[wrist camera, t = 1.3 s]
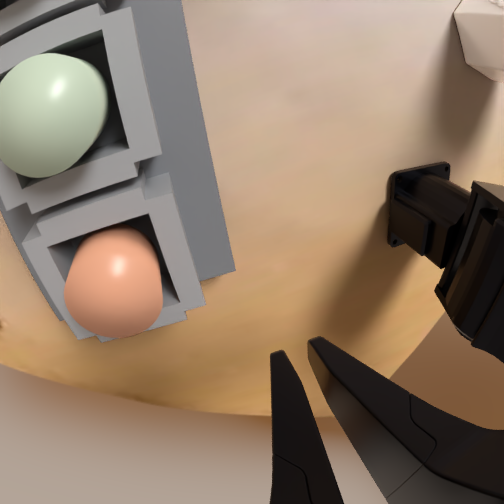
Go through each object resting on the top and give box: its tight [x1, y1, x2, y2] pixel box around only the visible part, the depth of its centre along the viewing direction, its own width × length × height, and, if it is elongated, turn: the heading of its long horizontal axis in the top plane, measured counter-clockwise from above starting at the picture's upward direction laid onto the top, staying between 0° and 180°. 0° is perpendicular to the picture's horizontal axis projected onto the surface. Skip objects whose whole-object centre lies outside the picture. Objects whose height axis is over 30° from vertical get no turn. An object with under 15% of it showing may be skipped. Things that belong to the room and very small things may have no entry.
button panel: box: [0, 0, 236, 343], centre depth 12 cm, size 12×24×5 cm, turn 9°
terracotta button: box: [64, 223, 163, 338], centre depth 14 cm, size 4×4×3 cm
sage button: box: [0, 53, 111, 178], centre depth 9 cm, size 4×4×3 cm
